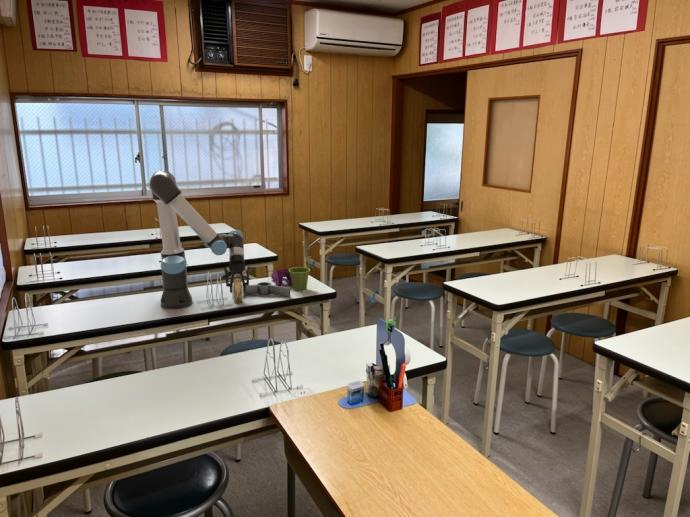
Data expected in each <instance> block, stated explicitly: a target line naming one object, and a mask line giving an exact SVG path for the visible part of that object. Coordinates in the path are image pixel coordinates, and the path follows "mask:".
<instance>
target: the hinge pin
mask: <svg viewBox="0 0 690 517" xmlns="http://www.w3.org/2000/svg"><path fill="white" fill-rule="evenodd" d="M233 285H234V299H233V301H234V303H235V304H241V303H243V299H242V285H243V284H242V281H241V277H234V279H233Z"/></svg>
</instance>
